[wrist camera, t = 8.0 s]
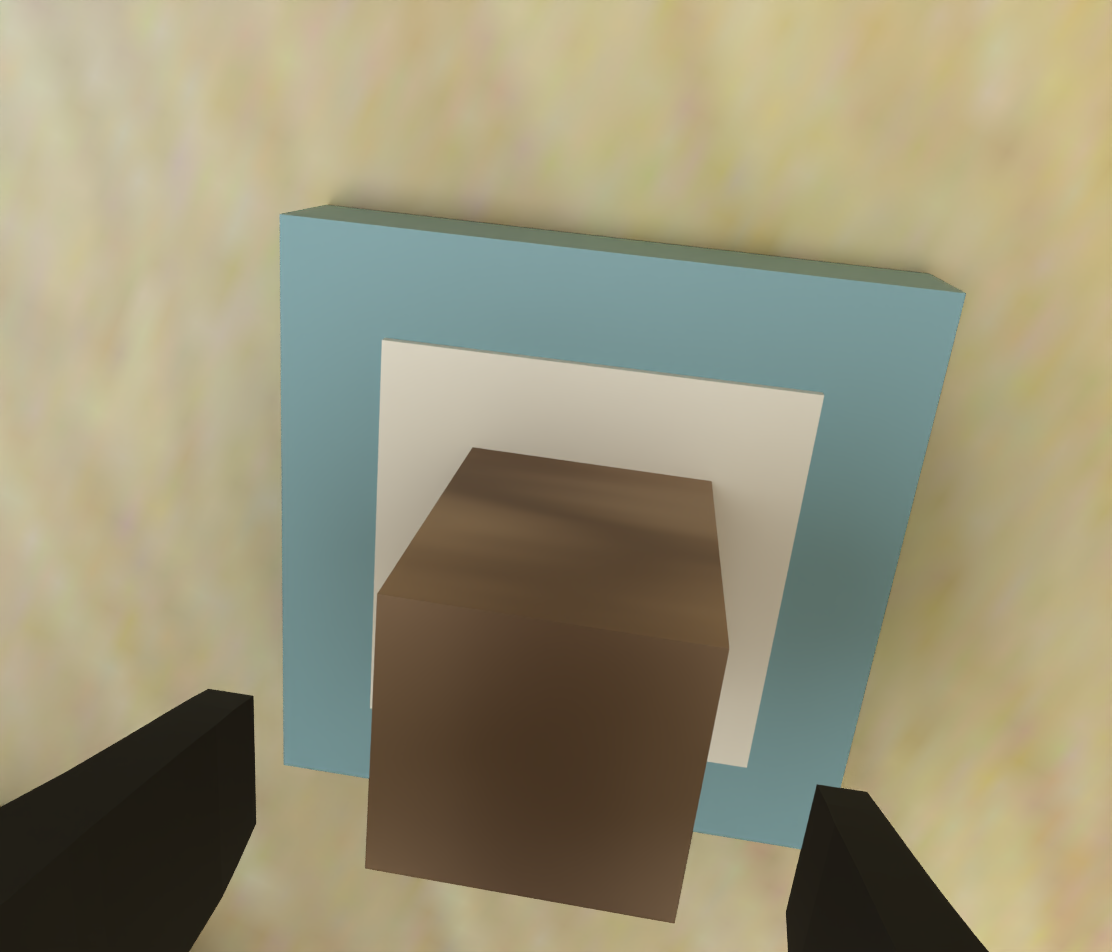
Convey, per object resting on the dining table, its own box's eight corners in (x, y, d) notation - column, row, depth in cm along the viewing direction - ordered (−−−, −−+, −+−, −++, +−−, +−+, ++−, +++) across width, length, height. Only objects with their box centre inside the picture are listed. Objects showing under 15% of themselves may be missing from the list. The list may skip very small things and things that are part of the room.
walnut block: (456, 653, 19) (365, 868, 13) (472, 446, 17) (376, 593, 12) (674, 688, 19) (674, 923, 13) (711, 481, 17) (729, 648, 12)
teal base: (322, 703, 23) (280, 770, 21) (326, 204, 19) (275, 215, 16) (808, 780, 22) (825, 859, 20) (929, 273, 18) (969, 295, 15)
